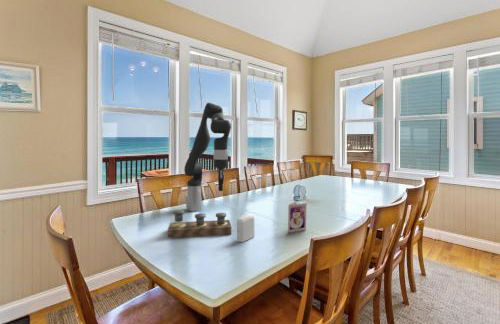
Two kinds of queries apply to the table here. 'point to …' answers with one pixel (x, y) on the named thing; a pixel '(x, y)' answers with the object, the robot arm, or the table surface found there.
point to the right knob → (221, 218)
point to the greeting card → (297, 217)
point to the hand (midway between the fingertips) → (220, 190)
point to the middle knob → (200, 219)
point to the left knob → (178, 215)
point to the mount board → (198, 229)
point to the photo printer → (245, 227)
